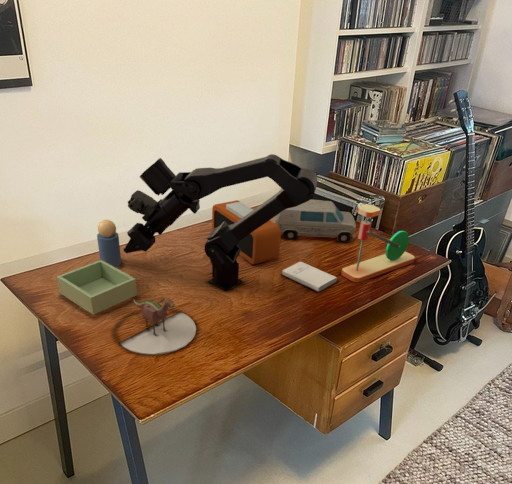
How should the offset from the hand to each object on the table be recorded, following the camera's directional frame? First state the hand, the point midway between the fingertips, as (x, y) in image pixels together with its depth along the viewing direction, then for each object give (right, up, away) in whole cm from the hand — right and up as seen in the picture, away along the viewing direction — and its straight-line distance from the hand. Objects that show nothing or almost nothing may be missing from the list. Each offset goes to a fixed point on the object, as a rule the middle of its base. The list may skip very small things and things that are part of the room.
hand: (132, 244), depth 137 cm
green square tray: (-6, -14, -8) cm, 18 cm away
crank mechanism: (+67, -4, +13) cm, 69 cm away
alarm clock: (+29, +2, +19) cm, 35 cm away
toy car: (+50, +8, +29) cm, 59 cm away
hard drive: (+47, -8, +5) cm, 48 cm away
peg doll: (-7, -5, +5) cm, 10 cm away
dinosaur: (+10, -23, -18) cm, 31 cm away
